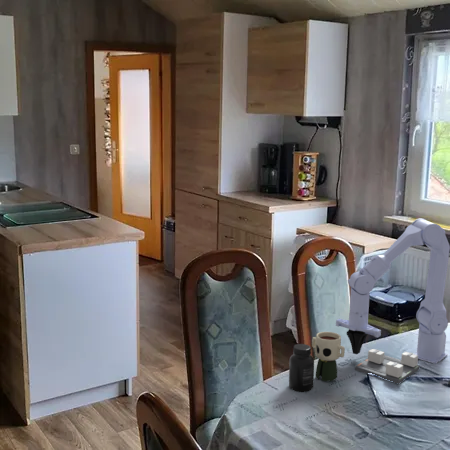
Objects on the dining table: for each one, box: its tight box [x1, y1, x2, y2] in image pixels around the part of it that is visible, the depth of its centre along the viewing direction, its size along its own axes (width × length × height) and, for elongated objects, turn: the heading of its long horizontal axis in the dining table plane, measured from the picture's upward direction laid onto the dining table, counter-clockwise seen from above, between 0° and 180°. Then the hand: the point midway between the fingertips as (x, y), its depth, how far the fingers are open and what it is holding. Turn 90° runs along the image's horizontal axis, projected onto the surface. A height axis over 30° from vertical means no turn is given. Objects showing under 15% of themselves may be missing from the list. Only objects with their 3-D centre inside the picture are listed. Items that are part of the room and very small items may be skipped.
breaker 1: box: [385, 361, 403, 378], centre depth 177 cm, size 3×4×3 cm, turn 48°
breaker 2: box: [400, 351, 419, 367], centre depth 185 cm, size 3×4×3 cm, turn 48°
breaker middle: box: [367, 348, 385, 364], centre depth 186 cm, size 3×4×3 cm, turn 48°
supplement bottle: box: [288, 343, 315, 393], centre depth 171 cm, size 7×7×12 cm
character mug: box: [311, 331, 346, 382], centre depth 177 cm, size 11×7×13 cm, turn 46°
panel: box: [354, 354, 421, 385], centre depth 184 cm, size 14×14×1 cm
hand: (356, 353), depth 191 cm, fingers closed
